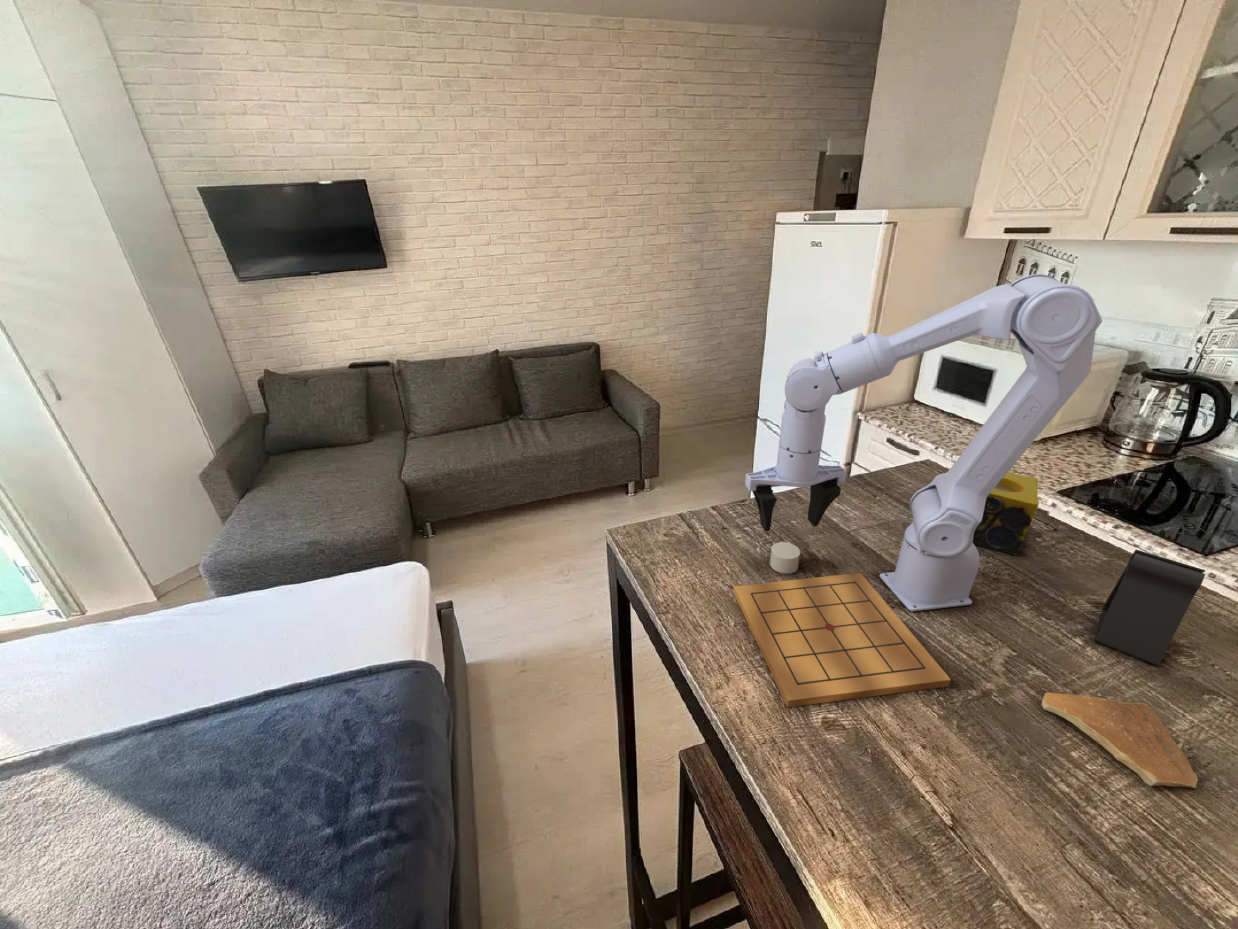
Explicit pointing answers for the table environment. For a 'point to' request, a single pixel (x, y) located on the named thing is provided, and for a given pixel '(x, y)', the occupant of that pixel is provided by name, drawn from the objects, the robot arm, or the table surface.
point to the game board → (834, 640)
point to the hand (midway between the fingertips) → (788, 525)
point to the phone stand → (1147, 606)
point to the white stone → (784, 557)
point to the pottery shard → (1127, 736)
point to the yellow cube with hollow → (1008, 514)
